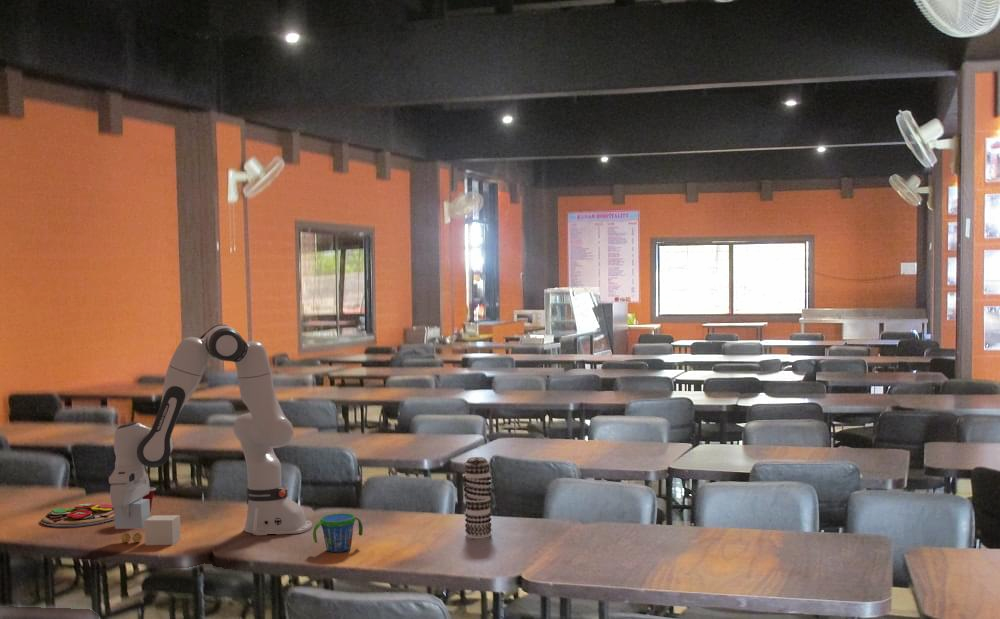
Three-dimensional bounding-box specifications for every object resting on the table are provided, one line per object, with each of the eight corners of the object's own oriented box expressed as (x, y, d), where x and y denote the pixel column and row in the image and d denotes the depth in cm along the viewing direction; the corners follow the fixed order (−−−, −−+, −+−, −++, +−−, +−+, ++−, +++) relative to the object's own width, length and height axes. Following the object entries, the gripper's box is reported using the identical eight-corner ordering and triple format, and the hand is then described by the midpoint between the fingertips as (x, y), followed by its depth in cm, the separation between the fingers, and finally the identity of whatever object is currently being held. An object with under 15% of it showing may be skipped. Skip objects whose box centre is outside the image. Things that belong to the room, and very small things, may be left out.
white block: (150, 523, 320) (149, 499, 319) (142, 528, 313) (140, 503, 313) (124, 523, 321) (122, 499, 320) (114, 528, 314) (113, 504, 314)
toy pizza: (78, 532, 333) (78, 519, 333) (22, 525, 345) (22, 512, 345) (140, 514, 358) (140, 502, 358) (86, 507, 370) (86, 496, 370)
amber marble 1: (132, 541, 318) (132, 532, 318) (128, 543, 315) (128, 534, 315) (123, 541, 318) (123, 532, 318) (119, 543, 315) (119, 534, 315)
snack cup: (317, 557, 295) (316, 523, 295) (309, 548, 305) (308, 516, 304) (367, 550, 301) (367, 517, 301) (358, 542, 311) (357, 510, 310)
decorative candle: (474, 540, 311) (472, 462, 310) (459, 534, 318) (457, 457, 318) (498, 535, 316) (496, 458, 315) (482, 529, 323) (481, 454, 323)
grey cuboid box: (180, 539, 319) (179, 515, 318) (172, 545, 312) (172, 520, 312) (153, 539, 319) (153, 515, 319) (145, 545, 313) (144, 520, 313)
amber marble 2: (143, 541, 318) (143, 532, 318) (139, 543, 315) (139, 534, 315) (134, 541, 318) (134, 532, 318) (130, 543, 315) (130, 534, 315)
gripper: (135, 466, 327) (137, 507, 327) (105, 479, 306) (108, 523, 307) (153, 465, 326) (155, 506, 327) (125, 479, 306) (127, 523, 307)
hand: (132, 514), depth 317 cm, fingers closed on white block, 6 cm apart
